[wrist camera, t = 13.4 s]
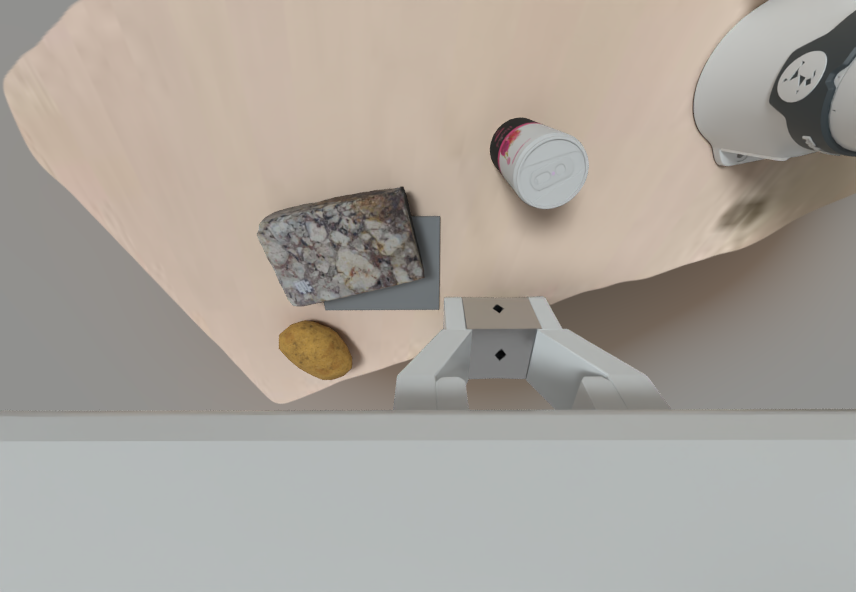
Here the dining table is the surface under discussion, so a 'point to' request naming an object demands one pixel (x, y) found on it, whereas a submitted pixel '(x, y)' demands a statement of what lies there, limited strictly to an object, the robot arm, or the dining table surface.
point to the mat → (411, 293)
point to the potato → (316, 350)
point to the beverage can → (539, 162)
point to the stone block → (342, 246)
